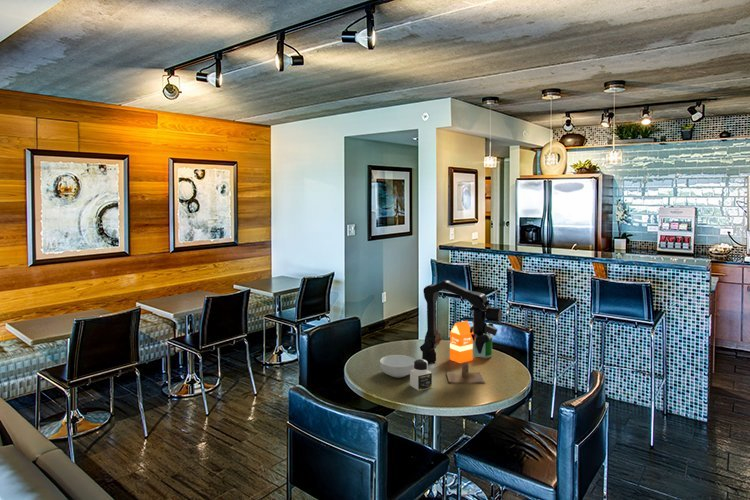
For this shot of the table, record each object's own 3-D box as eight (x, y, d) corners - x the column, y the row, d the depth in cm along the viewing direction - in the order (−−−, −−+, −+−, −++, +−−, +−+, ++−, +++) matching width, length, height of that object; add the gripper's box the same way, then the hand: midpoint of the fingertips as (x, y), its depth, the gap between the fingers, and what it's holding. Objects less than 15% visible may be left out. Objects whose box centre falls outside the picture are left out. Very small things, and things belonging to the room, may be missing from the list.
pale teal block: (474, 356, 237) (474, 342, 237) (472, 353, 243) (472, 339, 242) (485, 356, 237) (485, 342, 237) (483, 353, 242) (483, 339, 242)
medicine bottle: (418, 391, 216) (418, 364, 215) (409, 385, 222) (409, 359, 221) (432, 388, 219) (432, 361, 218) (423, 382, 226) (423, 357, 224)
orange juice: (472, 360, 256) (473, 322, 254) (460, 363, 251) (460, 324, 249) (461, 356, 263) (462, 319, 260) (449, 359, 258) (449, 321, 256)
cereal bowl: (374, 378, 231) (374, 363, 230) (386, 367, 247) (386, 353, 246) (410, 383, 225) (410, 368, 225) (419, 370, 241) (419, 356, 240)
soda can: (492, 359, 257) (492, 336, 256) (477, 358, 259) (477, 335, 257) (491, 354, 264) (492, 332, 263) (477, 353, 266) (477, 332, 265)
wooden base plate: (449, 383, 224) (449, 368, 224) (446, 373, 236) (446, 359, 236) (484, 383, 224) (485, 368, 223) (480, 374, 236) (480, 359, 235)
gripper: (500, 324, 229) (499, 357, 230) (492, 315, 247) (491, 345, 249) (476, 324, 229) (475, 357, 231) (469, 315, 247) (469, 345, 249)
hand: (478, 351), depth 240 cm, fingers closed on pale teal block, 5 cm apart
